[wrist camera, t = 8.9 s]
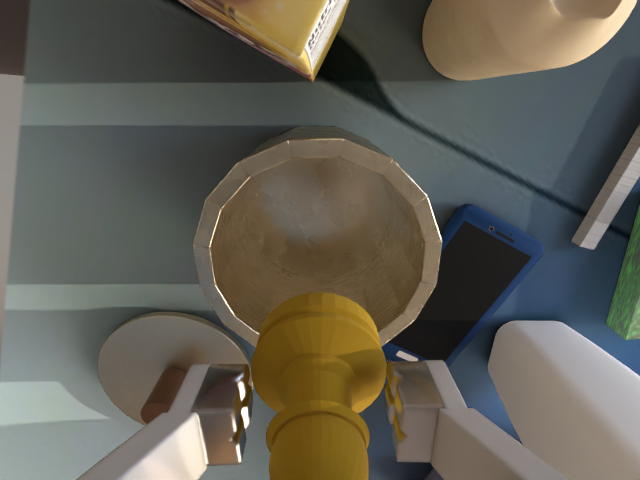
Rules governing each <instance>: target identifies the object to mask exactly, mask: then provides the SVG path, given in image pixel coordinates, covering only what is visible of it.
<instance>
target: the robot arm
mask: <svg viewBox="0 0 640 480" xmlns="http://www.w3.org/2000/svg"><path fill="white" fill-rule="evenodd" d="M386 375H387V379H388V383H387V384H386V385H385V407H386V414H387V419H388V422H389V423H390V424H391V425H392V441H393V446H394V450H395V455H396V459H397V462H431V465H432V466H433V467H434V468H435V470H436V471H437V472H438V473H439V474H440V476H441V477H442V478H443V479H444V480H569V479H567V478H566V477H565V476H563V475H562V474H561V473H559V472H558V471H557V470H555V469H554V468H553V467H551V466H550V465H549V464H547V463H546V462H545V461H543V460H542V459H541V458H539V457H538V456H537V455H535V454H534V453H533V452H531V451H530V450H529V449H527V448H526V447H525V446H523V445H522V444H521V443H519V442H518V441H517V440H515V439H514V438H513V437H511V436H510V435H509V434H507V433H506V432H505V431H503V430H502V429H501V428H499V427H498V426H497V425H495V424H494V423H493V422H491V421H490V420H489V419H487V418H486V417H485V416H483V415H482V414H481V413H479V412H478V411H477V410H475V409H474V408H467V406H466V404H465V402H464V400H463V398H462V396H461V394H460V392H459V390H458V388H457V386H456V384H455V382H454V380H453V378H452V376H451V374H450V372H449V370H448V368H447V366H446V364H445V362H444V361H443V360H427V361H398V362H388V363H387V369H386ZM249 379H250V369H249V365H248V364H193V365H192V366H191V367H190V369H189V371H188V373H187V375H186V377H185V379H184V381H183V383H182V385H181V387H180V389H179V391H178V393H177V395H176V397H175V399H174V401H173V403H172V405H171V407H170V409H169V411H168V413H161V414H160V415H159V416H158V417H156V418H155V419H154V420H152V421H151V422H150V423H148V424H147V425H146V426H145V427H143V428H142V429H141V430H139V431H138V432H137V433H136V434H134V435H133V436H132V437H130V438H129V439H128V440H127V441H125V442H124V443H123V444H121V445H120V446H119V447H117V448H116V449H115V450H114V451H112V452H111V453H110V454H108V455H107V456H106V457H105V458H103V459H102V460H101V461H99V462H98V463H97V464H96V465H94V466H93V467H92V468H90V469H89V470H88V471H86V472H85V473H84V474H83V475H81V476H80V477H79V478H77V479H76V480H198V479H199V477H200V476H201V475H202V474H203V473H204V471H205V470H206V469H207V466H213V465H235V464H241V462H242V457H243V453H244V448H245V444H246V433H245V428H246V427H247V426H248V425H249V424H250V420H251V415H252V405H253V394H252V387H251V386H250V385H249V384H248V383H249Z"/></svg>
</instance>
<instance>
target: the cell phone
mask: <svg viewBox="0 0 640 480" xmlns="http://www.w3.org/2000/svg"><path fill="white" fill-rule="evenodd" d="M440 235H441V238H442V247H441V255H440V262H439V270H438V278H437V284H436V286H435V288H434V289H433V291H432V293H431V295H430V296H429V298H428V300H427V301H426V303H425V305H424V306H423V308H422V310H421V311H420V313H419V315H418V316H417V318H416V320H414V322H413V323H411V324H410V325H409V326H407V327H406V328H405V329H404V330H402V331H401V332H400V333H399V334H397V335H396V336H395V337H393V338H392V339H391V340H390V341H388V342H387V343H386V344H385V345H383V346H381V348H382V351H383V353H384V355H385V357H386V358H388V359H391V360H393V361H395V362H398V361H427V360H443V361H444V362H445V364H446V366H447V368H448V367H449V365H450V364H451V363H452V362H453V361H454V359H455V358H456V357H457V356H458V355H459V354H460V352H461V351H462V350H463V349H464V348H465V347H466V345H467V344H468V343H469V342H470V341H471V339H472V338H473V337H474V336H475V335H476V334H477V332H478V331H479V330H480V329H481V328H482V327H483V325H484V324H485V323H486V322H487V321H488V319H489V318H490V317H491V316H492V315H493V314H494V312H495V311H496V310H497V309H498V308H499V307H500V305H501V304H502V303H503V302H504V301H505V299H506V298H507V297H508V296H509V295H510V294H511V292H512V291H513V290H514V289H515V288H516V287H517V285H518V284H519V283H520V282H521V281H522V279H523V278H524V277H525V276H526V275H527V274H528V272H529V271H530V270H531V269H532V268H533V267H534V265H535V264H536V263H537V262H538V260H539V259H540V258H541V256H542V255H543V253H544V247H543V245H542V244H541V243H540V242H539V241H538V240H536V239H535V238H533V237H532V236H530V235H528V234H526V233H524V232H523V231H521V230H519V229H517V228H515V227H514V226H512V225H510V224H508V223H506V222H505V221H503V220H501V219H499V218H498V217H496V216H494V215H492V214H490V213H489V212H487V211H485V210H483V209H481V208H480V207H477V206H475V205H473V204H464V205H462V206H461V207H459V208H458V209H457V210H456V211H455V213H454V214H453V215H452V217H451V218H450V220H449V221H448V223H447V224H446V225H445V227H444V228H443V230H442V231H441V232H440Z"/></svg>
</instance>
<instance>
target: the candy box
mask: <svg viewBox="0 0 640 480" xmlns="http://www.w3.org/2000/svg"><path fill="white" fill-rule="evenodd" d="M178 1H179V2H181V3H182V4H184V5H185V6H187V7H189V8H190V9H192V10H193V11H195V12H196V13H198V14H199V15H201V16H203V17H204V18H206V19H207V20H209V21H211V22H212V23H214V24H215V25H217V26H219V27H220V28H222V29H223V30H225V31H227V32H228V33H230V34H231V35H233V36H235V37H237V38H238V39H240V40H241V41H243V42H245V43H247V44H248V45H250V46H252V47H254V48H255V49H257V50H259V51H260V52H262V53H263V54H265V55H267V56H269V57H270V58H272V59H274V60H275V61H277V62H279V63H281V64H282V65H284V66H286V67H287V68H289V69H291V70H292V71H294V72H296V73H298V74H299V75H301V76H303V77H304V78H306V79H307V80H309V81H310V82H313V81H314V79H315V77H316V75H317V73H318V71H319V69H320V67H321V65H322V63H323V61H324V59H325V57H326V55H327V53H328V51H329V49H330V46H331V44H332V42H333V40H334V38H335V36H336V34H337V32H338V30H339V28H340V26H341V24H342V22H343V19H344V15H345V12H346V9H347V6H348V3H349V0H178Z"/></svg>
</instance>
